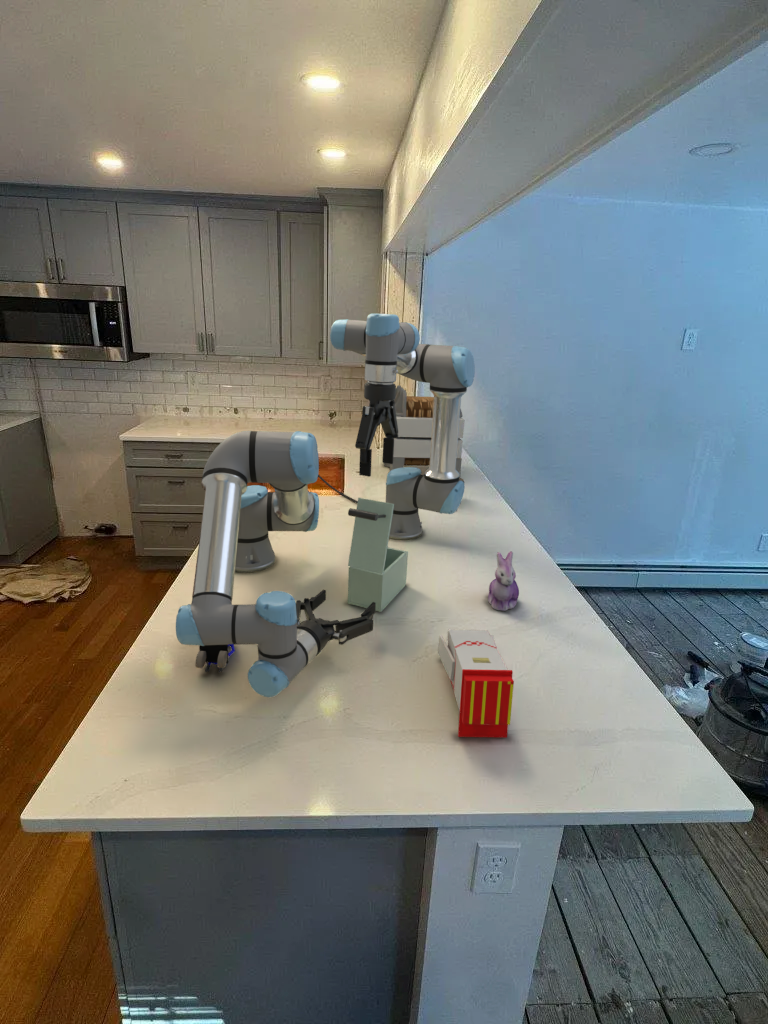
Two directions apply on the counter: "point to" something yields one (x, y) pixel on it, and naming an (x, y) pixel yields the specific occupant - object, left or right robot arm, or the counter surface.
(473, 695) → the toy
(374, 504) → the lid
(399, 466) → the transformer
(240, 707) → the counter surface
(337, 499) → the counter surface
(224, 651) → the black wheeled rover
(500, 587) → the figurine
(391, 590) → the chest
